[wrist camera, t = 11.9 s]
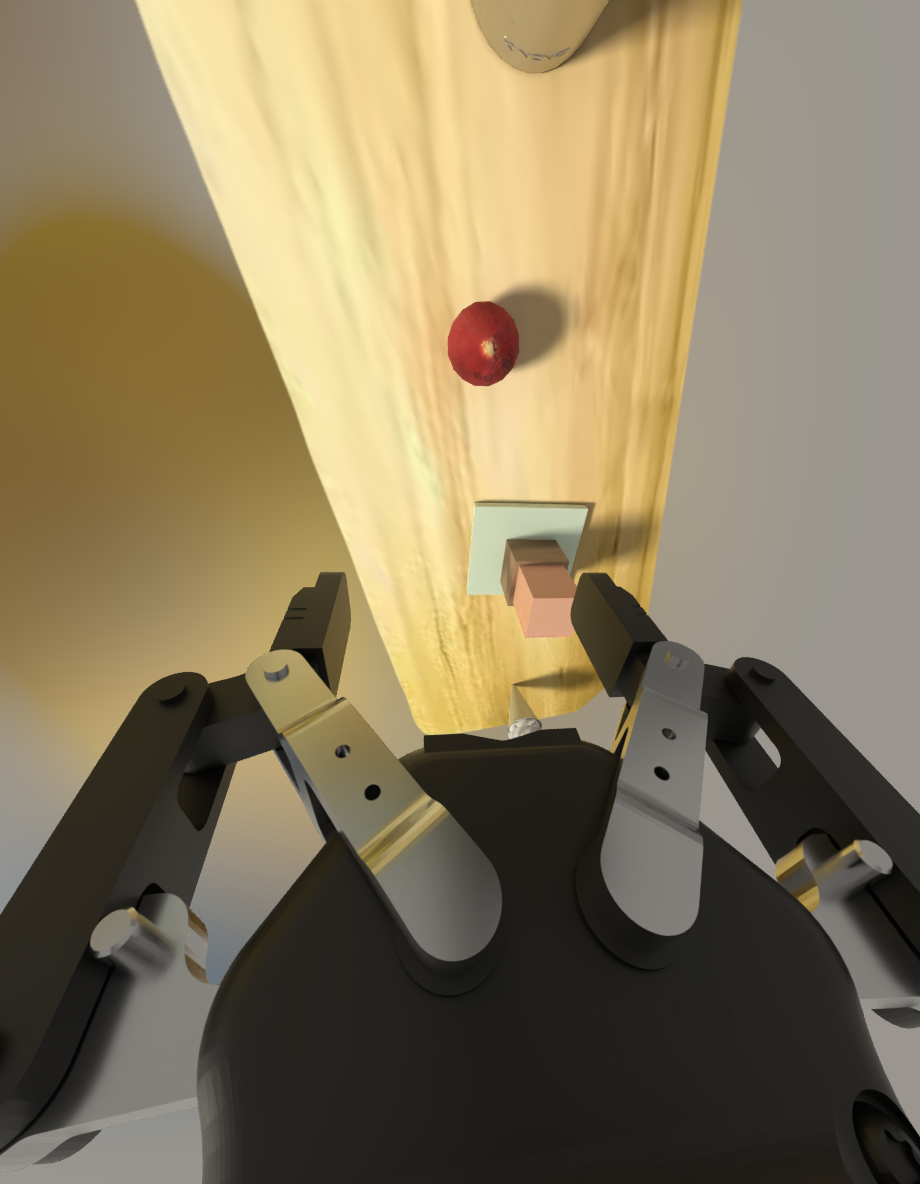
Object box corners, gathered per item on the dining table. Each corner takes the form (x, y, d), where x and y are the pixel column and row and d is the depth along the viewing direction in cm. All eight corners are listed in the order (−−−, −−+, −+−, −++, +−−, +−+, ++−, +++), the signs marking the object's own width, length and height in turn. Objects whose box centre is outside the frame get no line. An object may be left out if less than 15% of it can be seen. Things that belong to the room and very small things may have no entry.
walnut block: (506, 539, 45) (515, 561, 41) (555, 539, 46) (569, 561, 42) (500, 581, 49) (508, 606, 45) (546, 581, 49) (557, 605, 45)
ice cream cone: (492, 691, 63) (510, 781, 51) (507, 671, 60) (531, 760, 48) (517, 698, 64) (542, 787, 52) (534, 678, 62) (563, 767, 50)
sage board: (474, 502, 43) (475, 506, 42) (584, 504, 45) (588, 508, 44) (466, 589, 50) (467, 594, 49) (562, 589, 52) (565, 594, 51)
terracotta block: (519, 565, 41) (533, 598, 37) (563, 565, 42) (583, 597, 37) (512, 602, 44) (525, 637, 39) (554, 602, 45) (571, 636, 40)
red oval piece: (522, 342, 35) (546, 348, 28) (477, 394, 37) (491, 410, 31) (476, 285, 32) (492, 277, 26) (431, 345, 34) (436, 352, 28)
